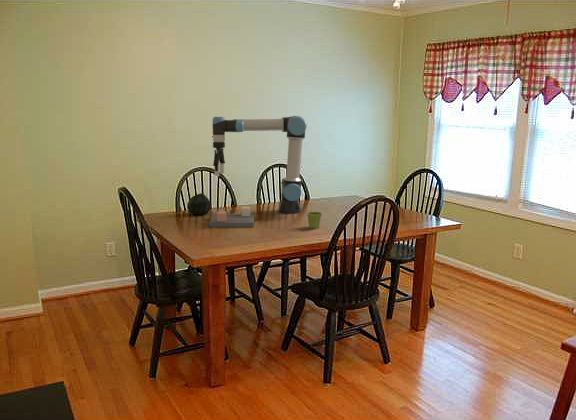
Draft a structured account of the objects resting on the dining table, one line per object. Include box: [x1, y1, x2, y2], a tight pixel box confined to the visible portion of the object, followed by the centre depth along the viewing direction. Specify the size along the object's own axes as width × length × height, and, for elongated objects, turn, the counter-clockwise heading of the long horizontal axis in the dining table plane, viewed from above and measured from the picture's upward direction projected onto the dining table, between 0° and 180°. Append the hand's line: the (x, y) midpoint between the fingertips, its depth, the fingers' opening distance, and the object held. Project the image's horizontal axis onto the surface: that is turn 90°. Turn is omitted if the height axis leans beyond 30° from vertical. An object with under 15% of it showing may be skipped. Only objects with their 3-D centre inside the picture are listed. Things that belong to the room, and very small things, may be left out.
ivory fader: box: [241, 206, 251, 216], centre depth 315 cm, size 5×6×5 cm
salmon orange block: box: [216, 210, 227, 222], centre depth 299 cm, size 5×6×5 cm
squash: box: [186, 192, 211, 216], centre depth 330 cm, size 14×15×15 cm
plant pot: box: [306, 211, 323, 229], centre depth 300 cm, size 9×9×9 cm
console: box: [208, 213, 255, 229], centre depth 308 cm, size 26×24×3 cm
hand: (219, 174), depth 323 cm, fingers open, 13 cm apart
